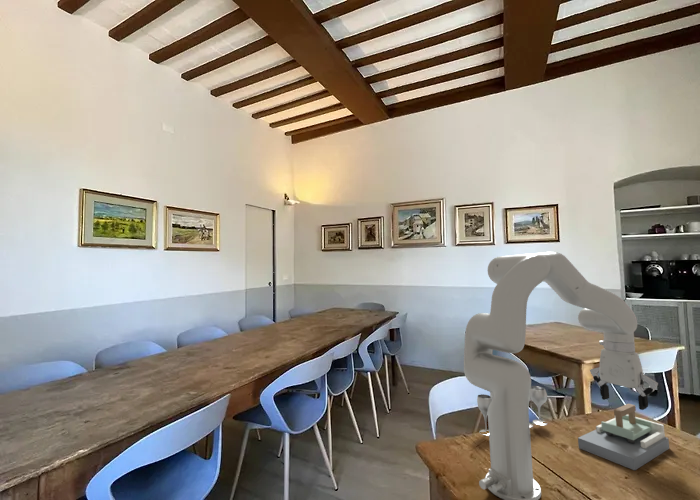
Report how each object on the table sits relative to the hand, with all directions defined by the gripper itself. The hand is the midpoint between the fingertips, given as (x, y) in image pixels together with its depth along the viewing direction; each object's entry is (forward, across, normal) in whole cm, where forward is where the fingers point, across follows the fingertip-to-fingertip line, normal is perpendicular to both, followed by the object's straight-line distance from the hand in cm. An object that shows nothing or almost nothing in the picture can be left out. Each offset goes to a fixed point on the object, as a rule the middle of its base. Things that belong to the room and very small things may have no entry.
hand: (623, 403), depth 104 cm
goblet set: (+13, -26, -17) cm, 34 cm away
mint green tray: (+10, 0, +1) cm, 10 cm away
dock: (+13, 0, -2) cm, 13 cm away
